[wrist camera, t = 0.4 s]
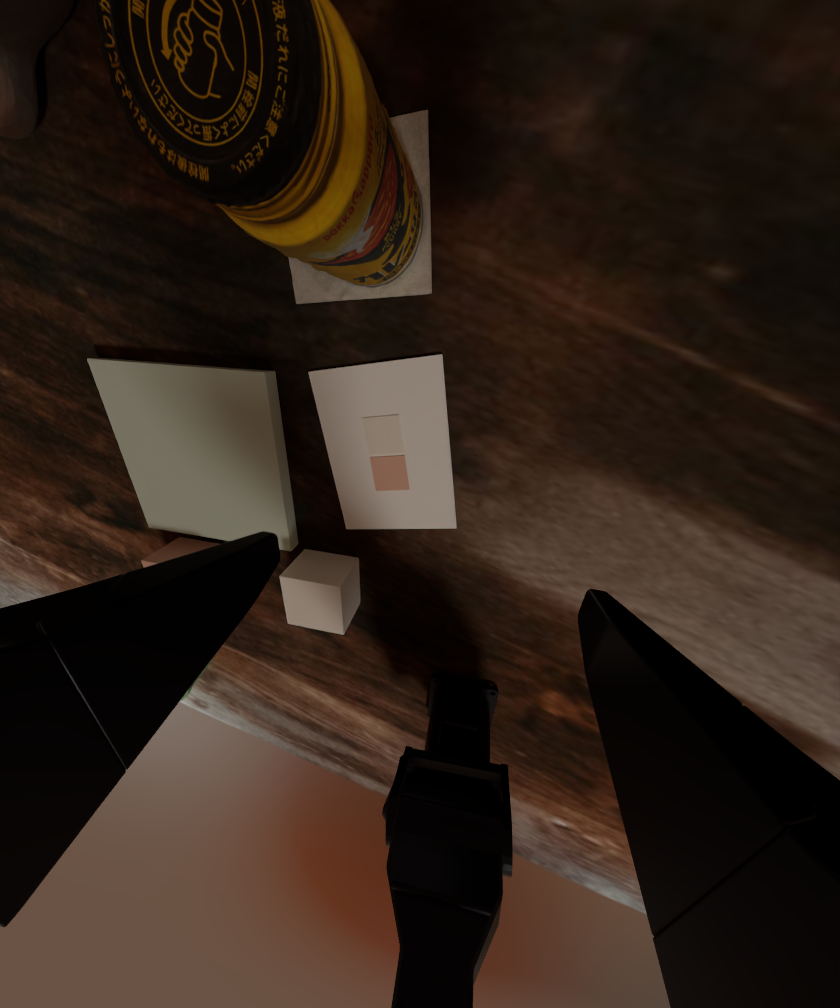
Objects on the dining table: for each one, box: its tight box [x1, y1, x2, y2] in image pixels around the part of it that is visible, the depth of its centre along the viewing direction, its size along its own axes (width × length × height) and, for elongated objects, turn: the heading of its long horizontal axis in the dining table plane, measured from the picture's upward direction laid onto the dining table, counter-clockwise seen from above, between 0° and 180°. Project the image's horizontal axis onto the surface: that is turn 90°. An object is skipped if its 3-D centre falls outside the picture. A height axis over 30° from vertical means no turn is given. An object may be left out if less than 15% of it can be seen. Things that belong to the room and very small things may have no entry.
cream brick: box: [279, 549, 360, 635], centre depth 28 cm, size 5×5×4 cm
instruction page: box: [308, 354, 457, 529], centre depth 23 cm, size 12×9×1 cm
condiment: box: [93, 0, 432, 304], centre depth 12 cm, size 7×8×12 cm
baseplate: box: [87, 358, 299, 551], centre depth 26 cm, size 14×14×1 cm
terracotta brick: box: [141, 537, 219, 567], centre depth 30 cm, size 5×5×4 cm
